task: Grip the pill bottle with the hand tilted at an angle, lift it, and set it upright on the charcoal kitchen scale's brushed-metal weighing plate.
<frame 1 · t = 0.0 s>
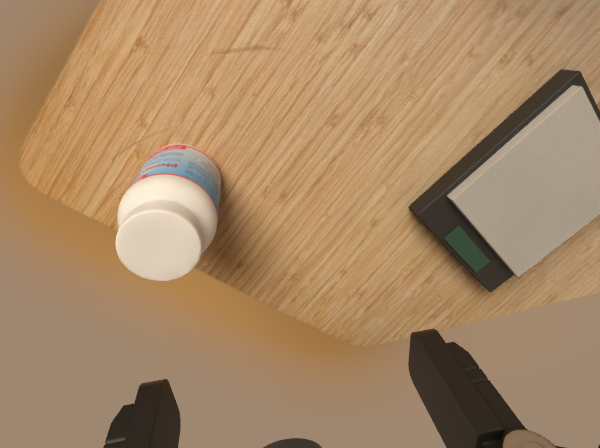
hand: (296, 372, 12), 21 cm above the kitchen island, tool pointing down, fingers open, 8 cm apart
pill bottle: (184, 177, 30), on the kitchen island
scale: (514, 189, 36), on the kitchen island
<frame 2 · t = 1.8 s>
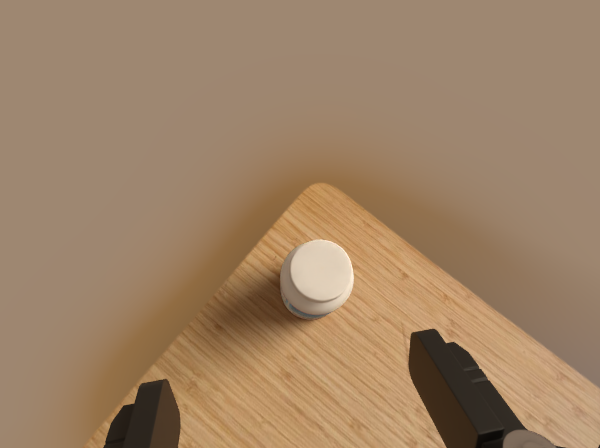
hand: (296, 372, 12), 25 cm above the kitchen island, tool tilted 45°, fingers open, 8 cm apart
pill bottle: (309, 289, 38), on the kitchen island
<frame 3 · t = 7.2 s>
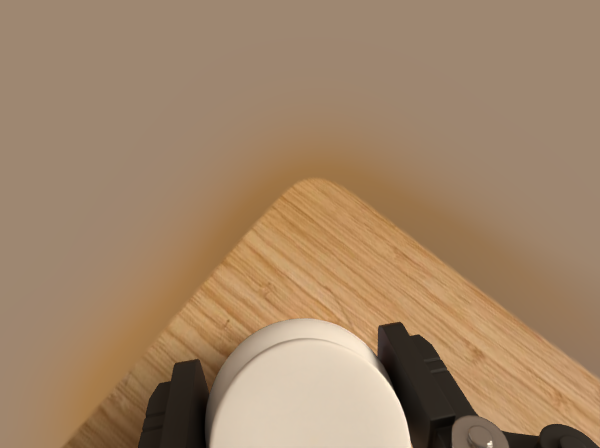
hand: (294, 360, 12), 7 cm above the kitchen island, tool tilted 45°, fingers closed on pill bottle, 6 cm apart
pill bottle: (293, 387, 19), on the kitchen island, touching gripper
when the fingers open (10 cm above the kitchen island, at t = 17.0 s): pill bottle stays where it is, resting on scale.
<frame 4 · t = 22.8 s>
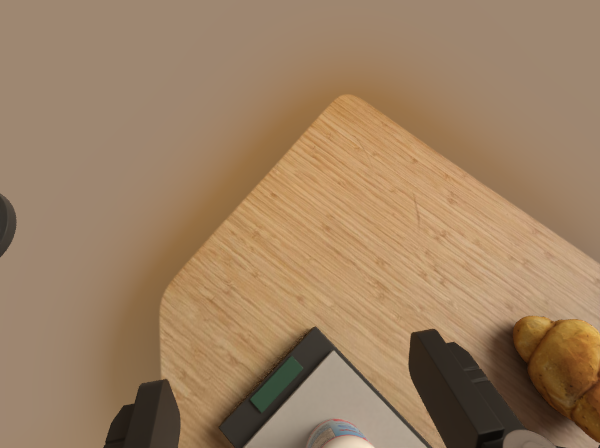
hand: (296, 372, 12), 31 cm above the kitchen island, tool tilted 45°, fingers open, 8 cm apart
bread roll: (553, 363, 43), on the kitchen island
scale: (324, 434, 39), on the kitchen island
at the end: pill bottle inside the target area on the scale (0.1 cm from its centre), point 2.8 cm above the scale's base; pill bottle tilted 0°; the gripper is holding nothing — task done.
